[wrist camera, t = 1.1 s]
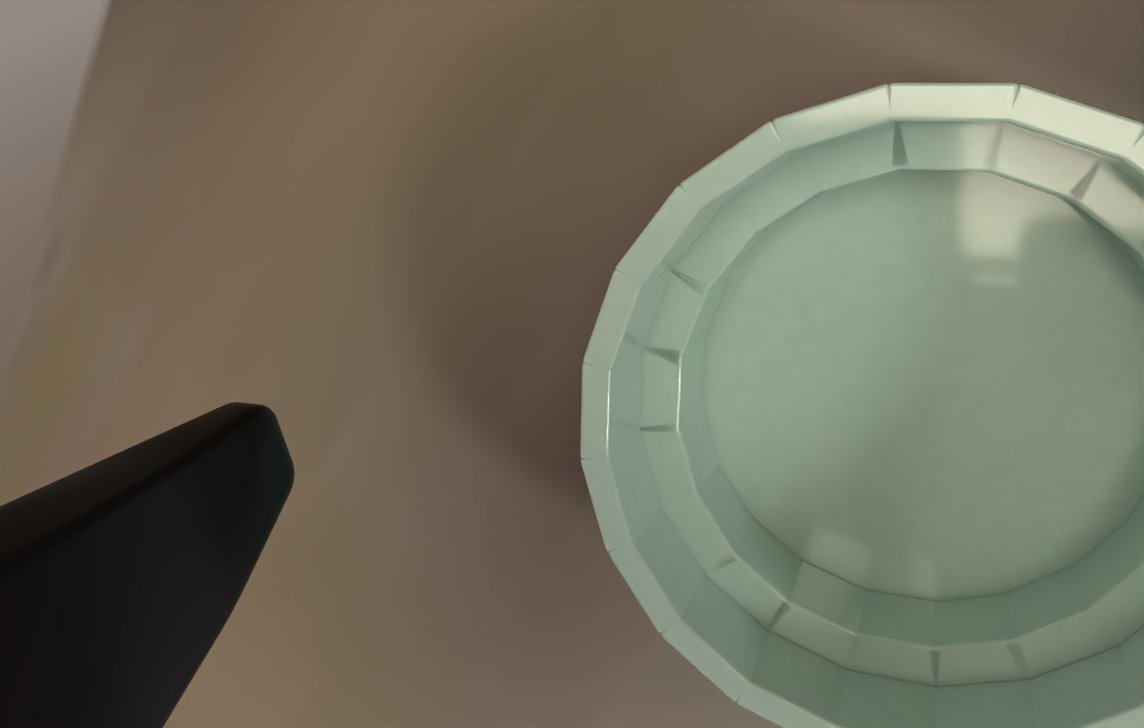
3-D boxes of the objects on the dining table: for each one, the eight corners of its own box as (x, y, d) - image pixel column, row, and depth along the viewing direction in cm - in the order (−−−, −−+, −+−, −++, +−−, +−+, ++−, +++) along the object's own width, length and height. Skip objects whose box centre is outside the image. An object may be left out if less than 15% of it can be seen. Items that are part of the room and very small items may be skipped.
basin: (1306, 614, 20) (1414, 757, 15) (724, 668, 24) (673, 788, 20) (1183, 8, 18) (1263, -36, 14) (592, 189, 23) (504, 202, 19)
